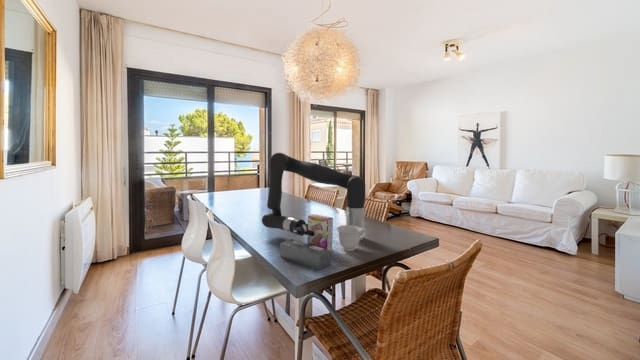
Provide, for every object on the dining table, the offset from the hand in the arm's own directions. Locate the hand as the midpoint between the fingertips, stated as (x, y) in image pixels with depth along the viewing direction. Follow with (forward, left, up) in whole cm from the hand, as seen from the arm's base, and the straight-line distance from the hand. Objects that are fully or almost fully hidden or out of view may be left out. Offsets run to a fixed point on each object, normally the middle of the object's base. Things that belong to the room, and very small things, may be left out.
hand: (319, 231), depth 129 cm
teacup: (-12, +10, -9) cm, 18 cm away
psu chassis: (+13, +2, -9) cm, 16 cm away
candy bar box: (0, 0, -9) cm, 9 cm away
